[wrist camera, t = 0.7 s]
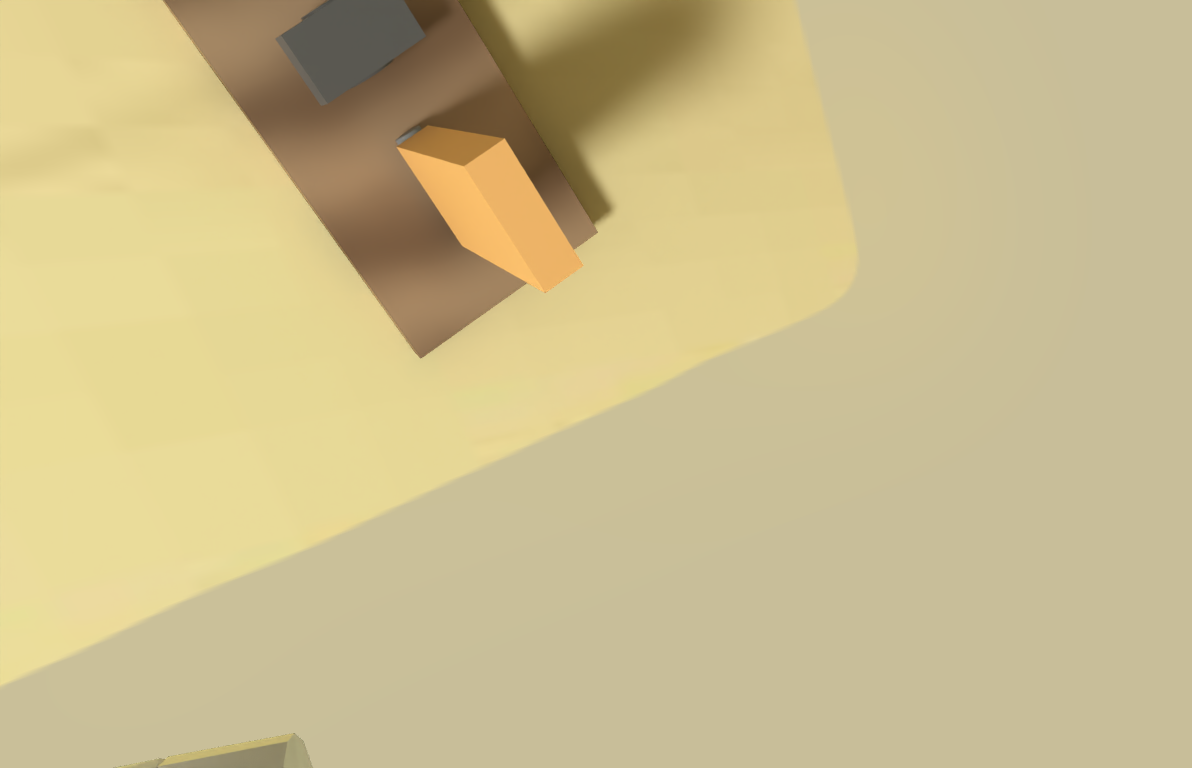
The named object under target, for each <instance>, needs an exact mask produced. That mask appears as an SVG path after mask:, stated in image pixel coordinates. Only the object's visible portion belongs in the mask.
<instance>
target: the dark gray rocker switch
mask: <svg viewBox="0 0 1192 768" xmlns="http://www.w3.org/2000/svg"><path fill="white" fill-rule="evenodd" d="M301 19H302V21H301V22H300V23H298V24H297V25H295V26H294V27H292V28H291V29H289V30H288V31H286V32H285V33H283V34H282V35H280V36H278V37H277V38H275V39H276V41H277V42H278V44H279V45H280V47H281V48H282V50H283V51H284V52H285V54H286V55H287V57H288V58H289V60H290V61H291V63H292V64H293V66H294V67H295V69H296V70H297V72H298V73H299V74H300V76H301V77H302V79H303V80H304V82H305V83H306V85H307V86H308V88H309V89H310V91H311V92H312V93H313V95H314V96H315V98H316V99H317V101H318V102H319V104H320V105H321V106H322V105H326V104H328V103H330V102H331V101H333V100H334V99H335V98H337V97H338V96H340V95H341V94H343V93H344V92H346V91H347V90H349V89H351V88H353V87H355V86H357V85H359V84H361V83H362V82H364V81H366V80H367V79H369V78H370V77H372V76H374V75H375V74H377V73H378V72H380V71H381V70H382V69H384V68H385V67H386V66H388V65H389V64H390V63H391V62H393V59H394V58H395V57H397V56H398V55H400V54H401V53H403V52H404V51H405V50H407V49H408V48H410V47H411V46H413V45H414V44H416V43H417V42H419V41H420V40H421V39H423V38H424V37H426V35H425V33H424V32H423V30H422V29H421V27H420V25H419V24H418V22H417V21H416V19H415V17H414V16H413V14H412V13H411V11H410V9H409V8H408V6H407V5H406V3H405V1H404V0H328V1H326V2H325V3H323V4H322V5H320V6H319V7H317V8H316V9H314V10H312V11H311V12H309V13H308V14H306V15H305V16H303V17H302V18H301Z"/></svg>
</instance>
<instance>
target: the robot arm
mask: <svg viewBox="0 0 1192 768" xmlns="http://www.w3.org/2000/svg"><path fill="white" fill-rule="evenodd" d="M115 768H313V767H312V764H311V761H310V758H309V756H308V753H307V750H306V747H305V744H304V742H303V740H302V739H301V738H299V737H298V736H297V735H296V734H295V733H293V734H288V735H282V736H276V737H272V738H266V739H260V740H255V741H249V742H245V743H239V744H233V745H228V746H223V747H218V748H212V749H207V750H201V751H196V752H190V753H185V754H179V755H174V756H169V757H167V758H166V759H155V760H150V761H145V762H140V763H135V764H130V765H125V766H120V767H115Z"/></svg>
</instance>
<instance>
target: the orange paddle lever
mask: <svg viewBox="0 0 1192 768" xmlns="http://www.w3.org/2000/svg"><path fill="white" fill-rule="evenodd" d="M396 143H397V144H398V146H396V147H397V149H398V150H399V152H400V153H401V155H402V156H403V158H404V159H405V161H406V162H407V164H408V165H409V167H410V168H411V170H412V171H413V173H414V174H415V176H416V177H417V179H418V180H419V182H420V183H421V185H422V186H423V188H424V189H425V191H426V192H427V194H428V195H429V197H430V198H431V200H432V201H433V203H434V204H435V206H436V207H437V209H438V211H439V212H440V214H441V215H442V217H443V218H444V220H445V221H446V223H447V224H448V226H449V227H450V229H451V230H452V232H453V233H454V235H455V236H456V238H457V239H458V241H459V242H460V244H461V245H462V246H463V247H465V248H467V249H468V250H470V251H472V252H474V253H475V254H477V255H479V256H481V257H483V258H484V259H486V260H488V261H490V262H491V263H493V264H495V265H497V266H498V267H500V268H502V269H504V270H505V271H507V272H509V273H511V274H513V275H514V276H516V277H518V278H520V279H521V280H523V281H525V282H527V283H528V284H530V285H532V286H534V287H536V288H537V289H539V290H541V291H543V292H544V293H546V292H547V291H549V290H550V289H552V288H553V287H554V286H556V285H557V284H558V283H560V282H561V281H563V280H564V279H565V278H567V277H568V276H570V275H571V274H572V273H574V272H575V271H577V270H578V269H579V268H581V267H582V266H583V264H582V263H581V261H580V259H579V258H578V256H577V255H576V253H575V251H574V250H573V248H572V246H571V245H570V243H569V242H568V240H567V238H566V237H565V235H564V234H563V232H562V230H561V229H560V227H559V225H558V224H557V222H556V221H555V219H554V217H553V216H552V214H551V212H550V211H549V209H548V208H547V206H546V204H545V203H544V201H543V200H542V198H541V196H540V195H539V193H538V191H537V190H536V188H535V187H534V185H533V183H532V182H531V180H530V179H529V177H528V175H527V174H526V172H525V170H524V169H523V167H522V166H521V164H520V162H519V161H518V159H517V158H516V156H515V154H514V153H513V151H512V149H511V148H510V146H509V145H508V143H507V141H506V140H505V138H499V137H493V136H488V135H482V134H476V133H470V132H464V131H458V130H452V129H447V128H441V127H435V126H429V125H427V126H426V127H425V128H423V129H421V127H420V126H419V125H418V126H415V127H413V128H411V129H410V130H408V131H407V132H405V133H404V134H402V135H401V136H400V137H398V138H397V139H396Z"/></svg>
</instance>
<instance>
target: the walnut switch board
mask: <svg viewBox="0 0 1192 768" xmlns="http://www.w3.org/2000/svg"><path fill="white" fill-rule="evenodd" d="M163 1H164V3H165V4H166V6H167V7H168V8H169V10H170V11H171V13H172V14H173V15H174V17H175V18H176V20H177V21H178V22H179V24H180V25H181V26H182V28H183V29H184V31H185V32H186V33H187V35H188V36H189V38H190V39H191V40H192V42H193V43H194V45H195V46H196V47H197V49H198V50H199V52H200V53H201V54H202V56H203V57H204V59H205V60H206V61H207V63H208V64H209V66H210V67H211V68H212V70H213V71H214V73H215V74H216V75H217V77H218V78H219V80H220V81H221V82H222V84H223V85H224V87H225V88H226V89H227V91H228V92H229V94H230V95H231V96H232V98H233V99H234V100H235V102H236V103H237V105H238V106H239V107H240V109H241V110H242V112H243V113H244V114H245V116H246V117H247V119H248V120H249V121H250V123H251V124H252V126H253V127H254V128H255V130H256V131H257V133H258V134H259V135H260V137H261V138H262V140H263V141H264V142H265V144H266V145H267V147H268V148H269V149H270V151H271V152H272V154H273V155H274V156H275V158H276V159H277V161H278V162H279V163H280V165H281V166H282V167H283V169H284V170H285V172H286V173H287V174H288V176H289V177H290V179H291V180H292V181H293V183H294V184H295V186H296V187H297V188H298V190H299V191H300V193H301V194H302V195H303V197H304V198H305V200H306V201H307V202H308V204H309V205H310V207H311V208H312V209H313V211H314V212H315V214H316V215H317V216H318V218H319V219H320V221H321V222H322V223H323V225H324V226H325V228H326V229H327V230H328V232H329V233H330V235H331V236H332V237H333V239H334V240H335V241H336V243H337V244H338V246H339V247H340V248H341V250H342V251H343V253H344V254H345V255H346V257H347V258H348V260H349V261H350V262H351V264H352V265H353V267H354V268H355V269H356V271H357V272H358V274H359V275H360V276H361V278H362V279H363V281H364V282H365V283H366V285H367V286H368V288H369V289H370V290H371V292H372V293H373V295H374V296H375V297H376V299H377V300H378V302H379V303H380V304H381V306H382V307H383V308H384V310H385V311H386V313H387V314H388V315H389V317H390V318H391V320H392V321H393V322H394V324H395V325H396V327H397V328H398V329H399V331H400V332H401V334H402V335H403V336H404V338H405V339H406V341H407V342H408V343H409V345H410V346H411V348H412V349H413V350H414V352H415V353H416V354H417V355H418V356H419V357H420V358H422V357H424V356H425V355H427V354H428V353H429V352H431V351H432V350H434V349H435V348H436V347H438V346H439V345H441V344H442V343H443V342H445V341H446V340H448V339H449V338H450V337H452V336H453V335H455V334H456V333H457V332H459V331H460V330H462V329H463V328H464V327H466V326H467V325H469V324H470V323H471V322H473V321H474V320H476V319H477V318H479V317H480V316H481V315H483V314H484V313H486V312H487V311H488V310H490V309H491V308H493V307H494V306H495V305H497V304H498V303H500V302H501V301H502V300H504V299H505V298H507V297H508V296H509V295H511V294H512V293H514V292H515V291H516V290H518V289H519V288H521V287H522V286H523V285H525V284H526V283H527V282H525V281H523V280H521V279H520V278H518V277H516V276H514V275H513V274H511V273H509V272H507V271H505V270H504V269H502V268H500V267H498V266H497V265H495V264H493V263H491V262H490V261H488V260H486V259H484V258H483V257H481V256H479V255H477V254H475V253H474V252H472V251H470V250H468V249H467V248H465V247H463V246H462V245H461V244H460V242H459V241H458V239H457V238H456V236H455V235H454V233H453V232H452V230H451V229H450V227H449V226H448V224H447V223H446V221H445V220H444V218H443V217H442V215H441V214H440V212H439V211H438V209H437V207H436V206H435V204H434V203H433V201H432V200H431V198H430V197H429V195H428V194H427V192H426V191H425V189H424V188H423V186H422V185H421V183H420V182H419V180H418V179H417V177H416V176H415V174H414V173H413V171H412V170H411V168H410V167H409V165H408V164H407V162H406V161H405V159H404V158H403V156H402V155H401V153H400V152H399V150H398V149H397V147H396V146H398V144H397V143H396V139H397V138H398V137H400V136H401V135H402V134H404V133H405V132H407V131H408V130H410V129H411V128H413V127H415V126H418V125H419V126H420V127H421V129H423V128H425V127H426V126H427V125H429V126H435V127H441V128H447V129H452V130H458V131H464V132H470V133H476V134H482V135H488V136H493V137H499V138H505V140H506V141H507V143H508V145H509V146H510V148H511V149H512V151H513V153H514V154H515V156H516V158H517V159H518V161H519V162H520V164H521V166H522V167H523V169H524V170H525V172H526V174H527V175H528V177H529V179H530V180H531V182H532V183H533V185H534V187H535V188H536V190H537V191H538V193H539V195H540V196H541V198H542V200H543V201H544V203H545V204H546V206H547V208H548V209H549V211H550V212H551V214H552V216H553V217H554V219H555V221H556V222H557V224H558V225H559V227H560V229H561V230H562V232H563V234H564V235H565V237H566V238H567V240H568V242H569V243H570V245H571V246H572V248H573V250H574V249H575V248H577V247H578V246H580V245H581V244H582V243H584V242H585V241H587V240H588V239H589V238H591V237H592V236H594V235H595V234H596V233H598V232H597V230H596V228H595V227H594V225H593V223H592V222H591V220H590V218H589V217H588V215H587V213H586V212H585V210H584V208H583V207H582V205H581V203H580V202H579V200H578V198H577V197H576V195H575V194H574V192H573V190H572V189H571V187H570V185H569V184H568V182H567V180H566V179H565V177H564V175H563V174H562V172H561V170H560V169H559V167H558V165H557V164H556V162H555V160H554V159H553V157H552V155H551V154H550V152H549V150H548V149H547V147H546V145H545V144H544V142H543V141H542V139H541V137H540V136H539V134H538V132H537V131H536V129H535V127H534V126H533V124H532V122H531V121H530V119H529V117H528V116H527V114H526V112H525V111H524V109H523V107H522V106H521V104H520V102H519V101H518V99H517V97H516V96H515V94H514V93H513V91H512V89H511V88H510V86H509V84H508V83H507V81H506V79H505V78H504V76H503V74H502V73H501V71H500V69H499V68H498V66H497V64H496V63H495V61H494V59H493V58H492V56H491V54H490V53H489V51H488V49H487V48H486V46H485V44H484V43H483V41H482V40H481V38H480V36H479V35H478V33H477V31H476V30H475V28H474V26H473V25H472V23H471V21H470V20H469V18H468V16H467V15H466V13H465V11H464V10H463V8H462V6H461V5H460V3H459V1H458V0H404V1H405V3H406V5H407V6H408V8H409V9H410V11H411V13H412V14H413V16H414V17H415V19H416V21H417V22H418V24H419V25H420V27H421V29H422V30H423V32H424V33H425V35H426V37H424V38H423V39H421V40H420V41H419V42H417V43H416V44H414V45H413V46H411V47H410V48H408V49H407V50H405V51H404V52H403V53H401V54H400V55H398V56H397V57H395V58H394V59H393V62H391V63H390V64H389V65H388V66H386V67H385V68H384V69H382V70H381V71H380V72H378V73H377V74H375V75H374V76H372V77H370V78H369V79H367V80H366V81H364V82H362V83H361V84H359V85H357V86H355V87H353V88H351V89H349V90H347V91H346V92H344V93H343V94H341V95H340V96H338V97H337V98H335V99H334V100H333V101H331V102H330V103H328V104H326V105H322V106H321V105H320V104H319V102H318V101H317V99H316V98H315V96H314V95H313V93H312V92H311V91H310V89H309V88H308V86H307V85H306V83H305V82H304V80H303V79H302V77H301V76H300V74H299V73H298V72H297V70H296V69H295V67H294V66H293V64H292V63H291V61H290V60H289V58H288V57H287V55H286V54H285V52H284V51H283V50H282V48H281V47H280V45H279V44H278V42H277V41H276V39H275V38H277V37H278V36H280V35H282V34H283V33H285V32H286V31H288V30H289V29H291V28H292V27H294V26H295V25H297V24H298V23H300V22H301V21H302V19H301V18H302V17H303V16H305V15H306V14H308V13H309V12H311V11H312V10H314V9H316V8H317V7H319V6H320V5H322V4H323V3H325V2H326V1H328V0H163Z"/></svg>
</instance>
